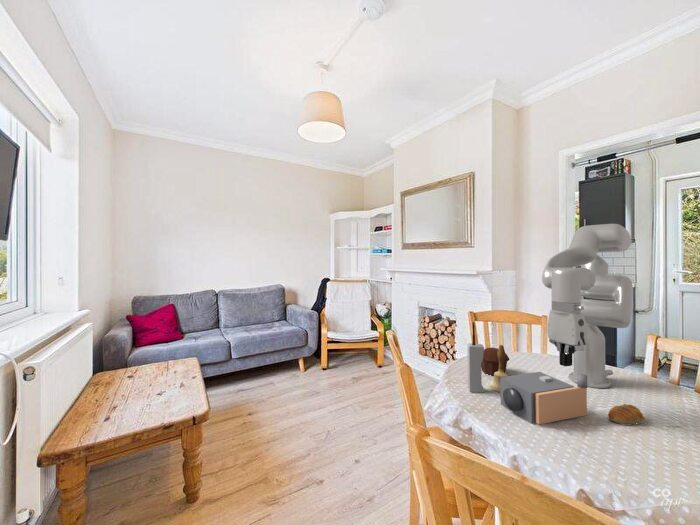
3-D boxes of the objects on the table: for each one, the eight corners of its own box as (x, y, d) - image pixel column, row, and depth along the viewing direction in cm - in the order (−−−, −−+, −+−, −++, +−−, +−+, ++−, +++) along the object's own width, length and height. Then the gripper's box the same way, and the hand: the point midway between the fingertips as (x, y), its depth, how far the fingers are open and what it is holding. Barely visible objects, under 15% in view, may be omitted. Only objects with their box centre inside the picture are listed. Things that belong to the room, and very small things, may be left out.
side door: (581, 411, 91) (581, 373, 91) (589, 416, 89) (589, 376, 88) (533, 421, 86) (533, 380, 86) (540, 425, 84) (540, 383, 84)
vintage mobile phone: (484, 393, 106) (483, 323, 105) (469, 392, 107) (468, 323, 106) (482, 388, 109) (481, 321, 109) (467, 387, 110) (467, 321, 110)
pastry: (628, 429, 83) (627, 416, 83) (600, 418, 89) (600, 405, 89) (647, 422, 86) (647, 409, 86) (619, 411, 92) (619, 399, 92)
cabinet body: (539, 397, 102) (539, 369, 101) (574, 415, 90) (573, 383, 90) (496, 405, 97) (496, 375, 97) (527, 424, 86) (526, 391, 85)
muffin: (476, 374, 123) (476, 350, 122) (480, 365, 132) (480, 343, 132) (508, 380, 116) (508, 355, 116) (510, 370, 126) (510, 347, 126)
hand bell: (510, 384, 113) (509, 342, 112) (516, 394, 104) (516, 349, 104) (486, 382, 115) (486, 341, 114) (491, 392, 107) (490, 348, 106)
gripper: (599, 310, 87) (599, 372, 87) (553, 303, 102) (553, 357, 102) (580, 311, 86) (580, 375, 86) (536, 304, 100) (535, 358, 100)
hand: (565, 365), depth 94 cm, fingers closed
